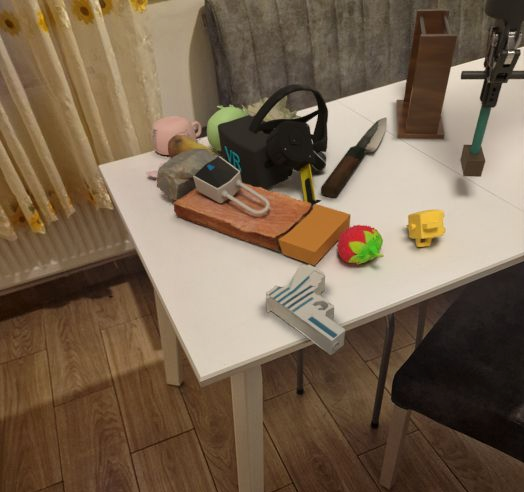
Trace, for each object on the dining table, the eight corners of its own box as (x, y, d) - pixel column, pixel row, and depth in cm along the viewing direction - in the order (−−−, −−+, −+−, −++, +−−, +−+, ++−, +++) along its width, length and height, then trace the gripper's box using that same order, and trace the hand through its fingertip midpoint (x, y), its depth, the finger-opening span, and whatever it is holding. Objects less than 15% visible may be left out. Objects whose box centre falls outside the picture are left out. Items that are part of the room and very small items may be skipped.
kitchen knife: (346, 189, 93) (321, 184, 95) (345, 200, 95) (320, 195, 97) (397, 113, 114) (375, 110, 116) (395, 123, 116) (374, 120, 118)
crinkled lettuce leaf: (283, 124, 127) (231, 134, 121) (281, 91, 123) (227, 99, 117) (320, 127, 115) (264, 139, 109) (318, 90, 111) (260, 100, 105)
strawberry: (324, 223, 80) (364, 251, 74) (360, 210, 83) (402, 236, 77) (322, 254, 84) (360, 283, 78) (357, 240, 87) (396, 267, 81)
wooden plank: (313, 268, 82) (313, 252, 79) (174, 218, 94) (170, 202, 91) (349, 228, 89) (351, 212, 86) (216, 186, 101) (214, 171, 98)
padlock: (219, 153, 91) (279, 190, 85) (222, 172, 95) (280, 208, 89) (192, 174, 89) (252, 213, 83) (197, 192, 93) (254, 230, 87)
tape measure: (297, 133, 95) (262, 127, 91) (311, 122, 91) (275, 115, 87) (309, 208, 94) (274, 206, 90) (323, 200, 91) (288, 197, 86)
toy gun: (306, 261, 78) (258, 291, 74) (378, 307, 70) (329, 343, 66) (306, 276, 80) (259, 306, 76) (376, 322, 73) (328, 358, 69)
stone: (191, 149, 102) (206, 129, 95) (215, 182, 104) (231, 166, 97) (146, 177, 96) (159, 158, 90) (172, 212, 98) (187, 196, 91)
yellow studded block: (428, 242, 88) (401, 247, 88) (426, 209, 87) (398, 213, 86) (452, 244, 81) (422, 249, 80) (450, 207, 79) (420, 212, 79)
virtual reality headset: (214, 166, 108) (202, 94, 97) (300, 134, 115) (298, 63, 104) (260, 203, 97) (252, 126, 85) (351, 165, 103) (355, 88, 92)
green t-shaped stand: (440, 159, 93) (460, 64, 81) (497, 160, 91) (526, 63, 79) (442, 175, 89) (464, 78, 77) (502, 177, 87) (533, 78, 75)
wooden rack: (396, 103, 124) (409, 8, 109) (437, 104, 122) (457, 8, 108) (397, 138, 111) (412, 36, 97) (443, 139, 110) (466, 36, 95)
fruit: (168, 126, 104) (225, 133, 106) (168, 147, 110) (223, 152, 111) (166, 147, 102) (225, 153, 104) (167, 167, 108) (223, 172, 109)
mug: (140, 119, 111) (147, 145, 115) (157, 132, 105) (163, 160, 109) (189, 106, 115) (193, 132, 119) (208, 117, 109) (212, 145, 113)
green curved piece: (206, 84, 101) (190, 112, 111) (219, 138, 102) (202, 161, 111) (258, 85, 107) (238, 111, 116) (270, 136, 107) (249, 158, 117)
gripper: (562, -15, 64) (518, 122, 77) (540, -38, 73) (504, 87, 86) (500, -13, 65) (467, 121, 78) (486, -36, 74) (459, 87, 87)
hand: (487, 103), depth 82 cm, fingers closed on green t-shaped stand
